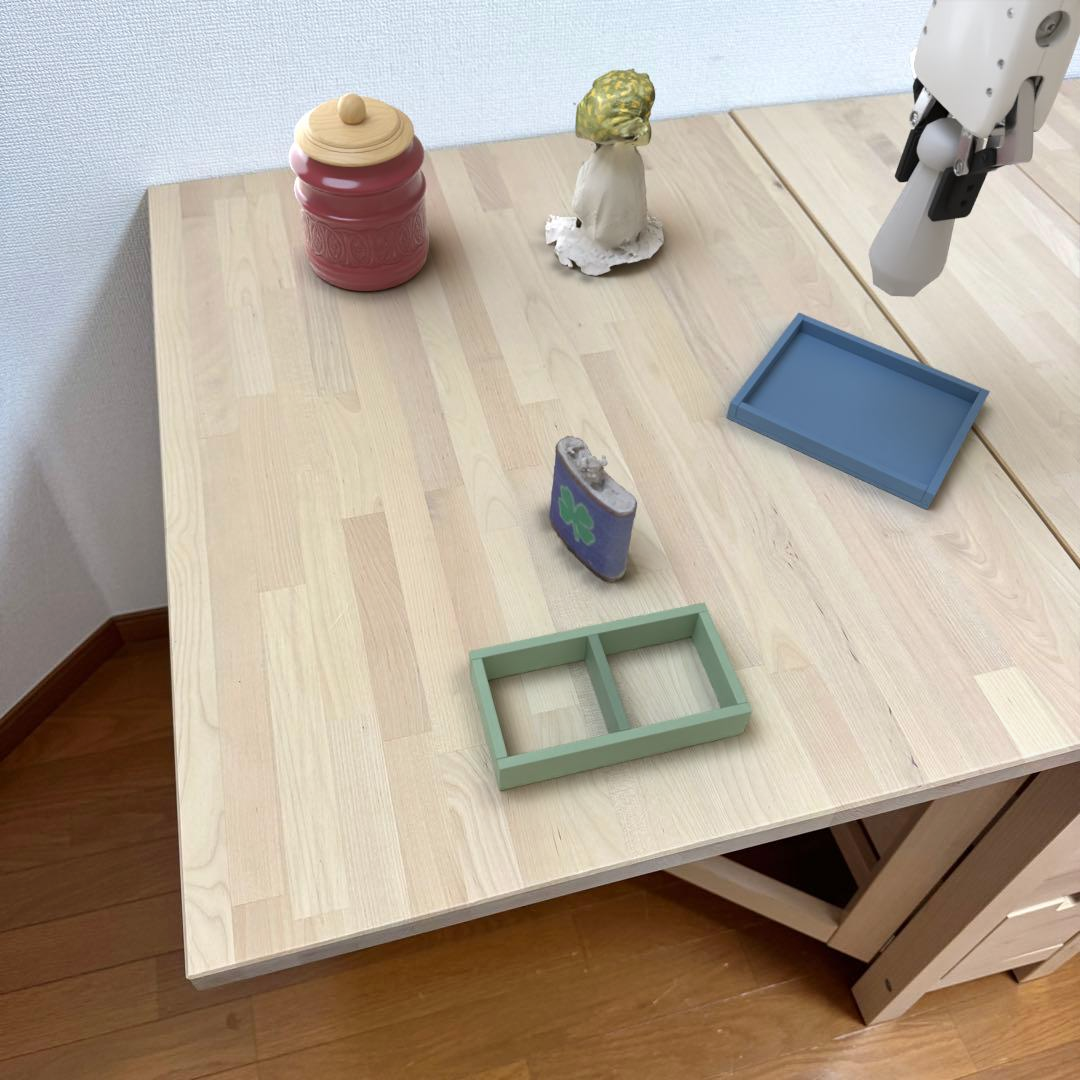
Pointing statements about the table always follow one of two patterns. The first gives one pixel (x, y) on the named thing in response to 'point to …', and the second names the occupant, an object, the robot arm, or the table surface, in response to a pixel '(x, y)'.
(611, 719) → the frame
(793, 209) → the table surface
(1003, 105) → the robot arm
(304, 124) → the kitchen canister
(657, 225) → the mushroom
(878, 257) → the salt shaker
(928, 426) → the tray
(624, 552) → the flask
